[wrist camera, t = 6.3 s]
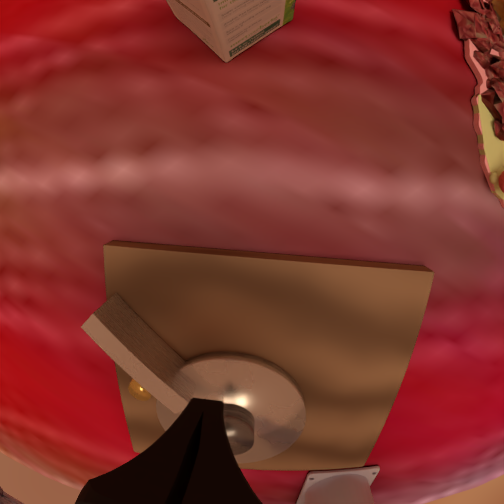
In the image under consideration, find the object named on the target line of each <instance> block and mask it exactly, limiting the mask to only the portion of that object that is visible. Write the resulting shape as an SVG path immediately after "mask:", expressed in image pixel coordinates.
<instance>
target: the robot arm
mask: <svg viewBox="0 0 504 504" xmlns="http://www.w3.org/2000/svg"><path fill="white" fill-rule="evenodd" d="M223 411H224V403H223V402H222V401H218V400H209V399H201V398H194V397H193V398H192V399H191V400H190V401H189V403H188V404H187V406H186V407H185V409H184V410H183V411H182V413H181V414H180V415H179V417H178V418H177V419H176V420H175V421H174V423H173V424H172V425H171V426H170V427H169V428H168V429H167V430H166V431H165V432H164V433H163V434H162V435H161V436H160V437H159V438H158V439H157V440H156V441H155V442H154V443H153V444H152V445H151V446H149V447H148V448H147V449H146V450H144V451H143V452H142V453H140V454H139V455H138V456H136V457H135V458H133V459H132V460H130V461H129V462H127V463H125V464H123V465H122V466H120V467H118V468H116V469H114V470H112V471H110V472H108V473H106V474H103V475H101V476H98V477H96V478H93V479H90V480H88V482H87V483H86V485H85V486H84V487H83V489H82V490H81V492H80V494H79V496H78V498H77V500H76V502H75V504H262V502H261V501H260V500H259V499H258V497H257V496H256V494H255V493H254V492H253V490H252V489H251V487H250V485H249V484H248V482H247V480H246V479H245V477H244V475H243V474H242V472H241V470H240V468H239V466H238V463H237V461H236V459H235V457H234V454H233V452H232V449H231V446H230V443H229V440H228V436H227V432H226V428H225V423H224V416H223ZM379 471H380V467H379V466H372V467H364V468H355V469H344V470H330V471H312V472H309V473H308V474H307V477H306V480H305V482H304V485H303V487H302V490H301V492H300V495H299V497H298V500H297V502H296V504H375V503H374V500H373V496H372V493H371V489H370V485H371V484H372V482H373V480H374V479H375V477H376V476H377V474H378V472H379ZM0 504H23V503H22V502H20V501H18V500H16V499H15V498H13V497H12V496H10V495H8V494H7V493H5V492H4V491H3V490H2V488H1V487H0Z"/></svg>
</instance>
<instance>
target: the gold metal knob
mask: <svg viewBox="0 0 504 504" xmlns="http://www.w3.org/2000/svg"><path fill="white" fill-rule="evenodd" d="M128 390H129V393H130V394H131V395H132V396H133V397H134V398H136V399H138V400H141V401H146V400H149V399H150V398H151V396H152V395H151V394H150V393H149V392H148V391H147V390H146V389H144V388H143V387H142V386H141V385H140V384H139V383H138V382H136V381H135V380H134V379H132V381H131V382H130V384H129V386H128Z"/></svg>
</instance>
